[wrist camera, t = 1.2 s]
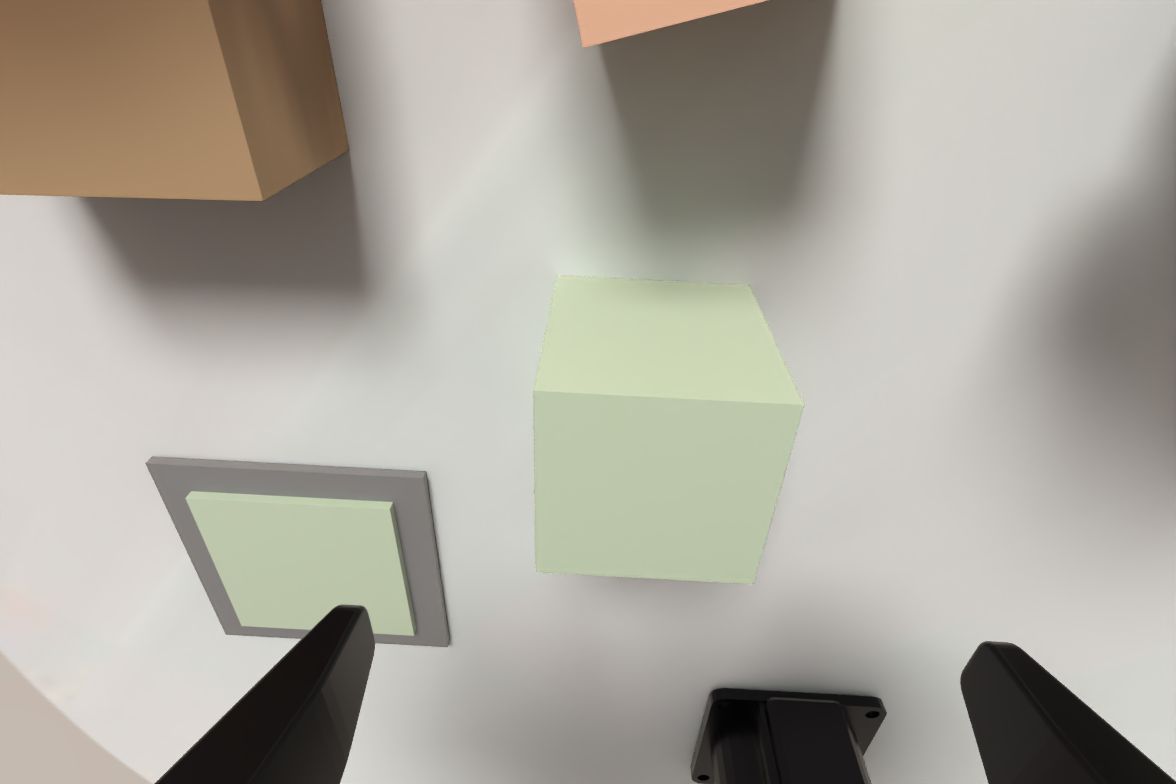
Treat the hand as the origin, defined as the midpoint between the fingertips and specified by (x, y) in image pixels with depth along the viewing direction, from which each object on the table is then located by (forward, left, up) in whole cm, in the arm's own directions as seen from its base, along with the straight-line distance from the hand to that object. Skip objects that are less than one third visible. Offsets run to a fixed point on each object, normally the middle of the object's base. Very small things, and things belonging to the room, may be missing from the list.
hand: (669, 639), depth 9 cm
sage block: (0, 0, -8) cm, 8 cm away
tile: (-8, +10, -8) cm, 15 cm away
